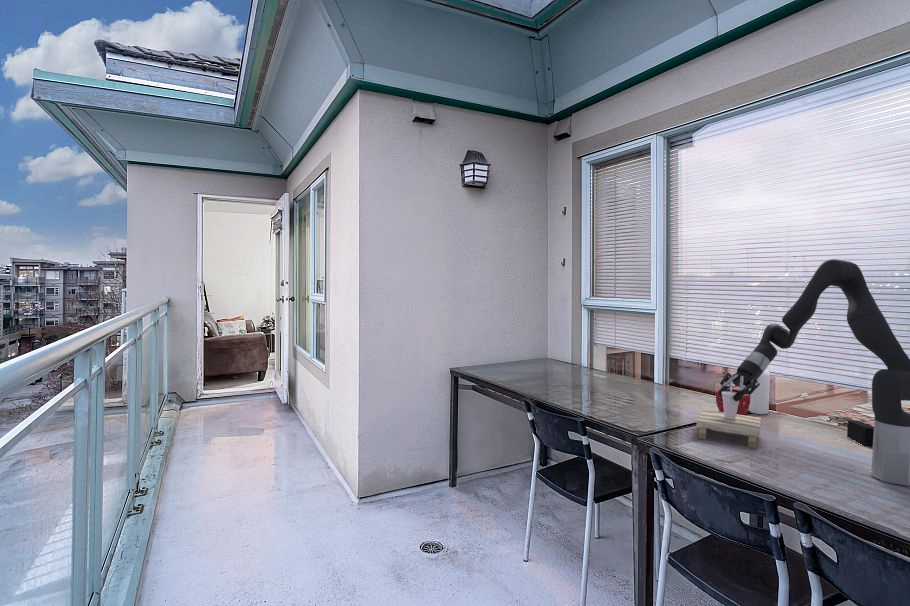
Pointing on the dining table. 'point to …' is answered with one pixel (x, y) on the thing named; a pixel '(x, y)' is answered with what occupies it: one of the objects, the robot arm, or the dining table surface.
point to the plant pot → (741, 407)
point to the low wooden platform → (729, 425)
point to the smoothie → (729, 404)
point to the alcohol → (761, 395)
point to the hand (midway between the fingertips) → (727, 397)
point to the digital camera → (861, 432)
